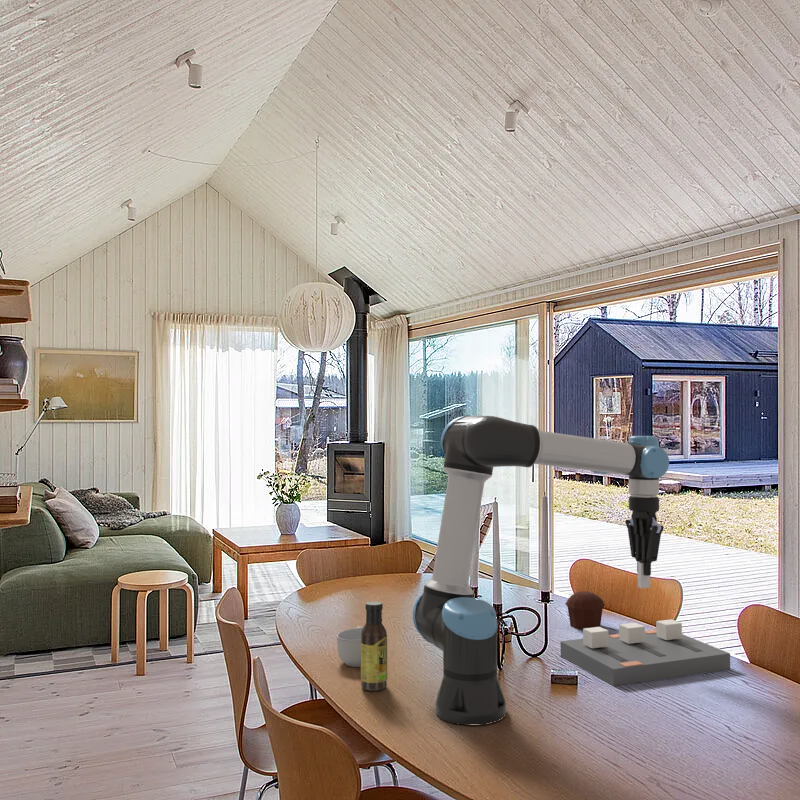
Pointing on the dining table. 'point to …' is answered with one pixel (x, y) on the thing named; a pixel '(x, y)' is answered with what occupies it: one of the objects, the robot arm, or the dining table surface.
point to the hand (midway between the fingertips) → (643, 587)
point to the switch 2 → (669, 629)
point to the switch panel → (645, 658)
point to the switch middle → (632, 633)
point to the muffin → (585, 610)
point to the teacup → (350, 646)
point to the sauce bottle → (373, 649)
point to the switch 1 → (595, 637)
